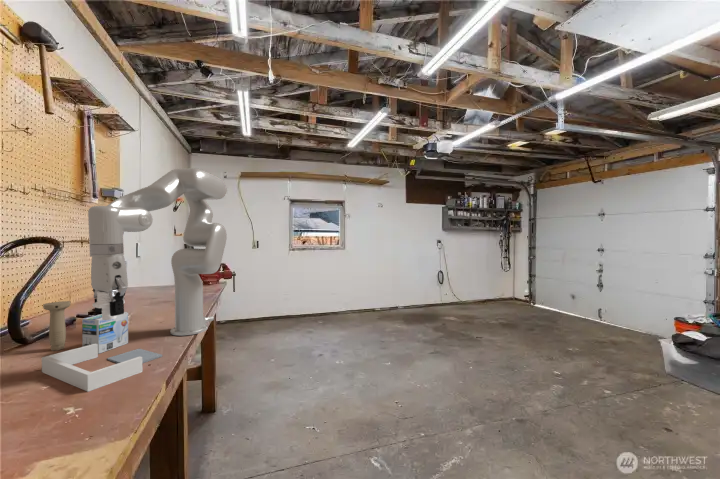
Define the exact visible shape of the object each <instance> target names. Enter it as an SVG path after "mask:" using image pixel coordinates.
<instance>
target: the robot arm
mask: <svg viewBox="0 0 720 479" xmlns="http://www.w3.org/2000/svg"><path fill="white" fill-rule="evenodd" d="M227 188H228V187H227V185H226V183H225V181H224V180H223V179H222V178H221V177H218V176H216V175H215V174H212V173H210V172H208V171H207V170H203V169H202V168H197V167H195V168H194V167H192V168H189V167H188V168H175V169H174V168H173V169H172V170H170V171H168V172H167V173H165V174H164V175H162V176H161V177H160V178H159V179H157V180H156V181H154V182H153V183H151V184H150V185H147V186H146V187H142V188H139V189H137V190H135V191H132V192H130V193H126V194H125V195H123V196H120V197H118V198H116V199H115V200H113V201H112V202H110V203H109V204H107V205H94V206H91V207H89V208H88V212H87V214H88V215H87V217H88V235H89V236H88V240H89V244H88V246H89V257H90V258H91V262H90V263H91V264H90V267H91V268H90V281H91V282H90V283H91V284H90V285H91V288H92V292H93V299H94V300H93V301H94V303H96V302H97V293H96V292H97V291H104V292H109V295H110V298H111V302H110V316H116V315H120V314H124V312H125V306H124V305H125V303H124V300H125V295H126V291H127V290H128V288H129V282H128V280H129V279H128V271H127V265H126V264H127V263H126V260H125V256H124V255H125V253H124V252H125V251H124V248H125V247H124V246H125V245H124V232H126V233H137V232H138V233H139V232H140V233H141V232H144V231H146V230H148V229H149V228H150V227H151V226H152V224H153V220H154V219H153V216H152V214H151V212H153V211H157V210H161V209H164V208H165V209H166V208H167V207H169V206H171V205H172V204H173V203H174V202H175V201H177V200H178V199H179V198H180V197H181V196H183V195H184V197H185V199H186V202H187V204H188V206H189V213H188V214H189V215H188V218H187V220H186V221H187V222H186V225H185V229H184V231H183V236H182V238H183V242H184V244H185V245H187V246H189V247H193V248H181V249H179V250H177V251H175V252H174V253H173V254H172V256H171V261H170V263H171V269H172V273H173V278H174V327H172V328H171V329H170V332H169V333H170V335H173V336H177V337H179V336H182V337H184V336H193V335H198V334H201V333H204V332H205V331H207V330H208V327H209V326H208V324H207V323H208V322H209V323H210V322H212V321H214V320H215V318H214V315H211V316H204V288H203V287H204V285H203V280H202V278H201V276H200V275H211V274H215V273H216V272H218V270H219V269H220V266H221V264H222V261H223V257H224V253H225V248H226V245H227V238H228V237H227V230H226V228H225V227H224V225H222V223H220V222H212V221H213V216H214V212H213V210H212V208H211V207H210V204H209V203H208V202H207V200H212V201H213V200H221V199H223V198H224V197H226V194H227V191H228V190H227ZM197 247H198V248H197ZM113 289H115V290H113ZM114 293H116V295H115V296H114ZM94 312H95V313H102V308H95V307H94Z"/></svg>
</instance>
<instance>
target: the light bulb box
mask: <svg viewBox="0 0 720 479" xmlns="http://www.w3.org/2000/svg"><path fill="white" fill-rule="evenodd" d="M81 321H82V322H81V323H82V327H81V328H82V331H81V332H82V341H81V342H82V347H84V346H88V345H92V344H98V355H99V354H102V353H105V352H107V351H110V350H114V349H117V348H119V347H122V346H125V345H127V344H129V312H127V311H124V314H120V315H117V316H116V318H115V319H111V320H102V313H101V314H97V315H93V316H92V315H91V316H89V317H84V318H81Z"/></svg>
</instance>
